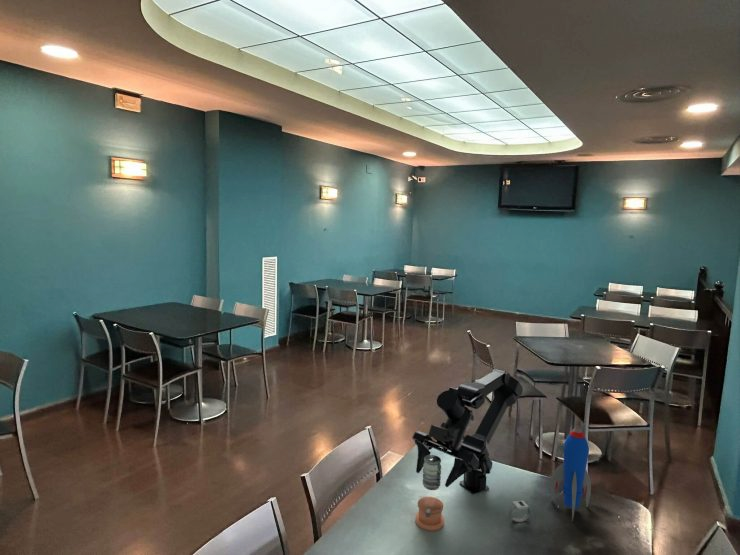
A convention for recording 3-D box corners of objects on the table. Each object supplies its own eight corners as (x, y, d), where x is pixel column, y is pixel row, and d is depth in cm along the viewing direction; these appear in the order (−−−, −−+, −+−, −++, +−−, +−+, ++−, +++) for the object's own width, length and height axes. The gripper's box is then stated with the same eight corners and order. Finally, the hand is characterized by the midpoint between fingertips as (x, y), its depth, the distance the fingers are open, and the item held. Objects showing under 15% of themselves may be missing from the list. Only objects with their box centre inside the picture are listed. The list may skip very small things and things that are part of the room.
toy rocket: (589, 506, 130) (596, 422, 127) (596, 527, 121) (604, 438, 118) (548, 499, 133) (555, 417, 130) (552, 519, 123) (559, 432, 121)
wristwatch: (511, 525, 121) (512, 508, 120) (506, 518, 123) (507, 501, 123) (532, 523, 122) (533, 505, 121) (526, 516, 124) (528, 499, 124)
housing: (426, 509, 126) (427, 491, 126) (449, 521, 121) (450, 503, 121) (409, 521, 121) (410, 503, 120) (433, 535, 116) (434, 516, 115)
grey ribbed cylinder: (429, 478, 123) (430, 452, 122) (443, 485, 120) (445, 459, 119) (418, 485, 120) (419, 459, 119) (433, 493, 117) (434, 465, 116)
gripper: (417, 402, 128) (390, 454, 121) (476, 423, 115) (450, 482, 109) (432, 421, 134) (408, 470, 128) (489, 442, 122) (466, 498, 115)
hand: (431, 479), depth 120 cm, fingers open, 9 cm apart
